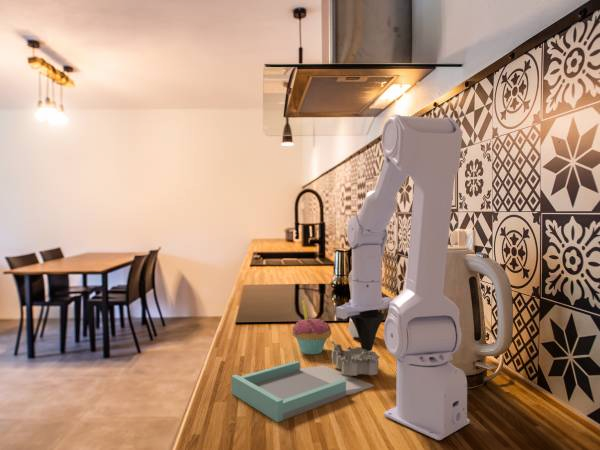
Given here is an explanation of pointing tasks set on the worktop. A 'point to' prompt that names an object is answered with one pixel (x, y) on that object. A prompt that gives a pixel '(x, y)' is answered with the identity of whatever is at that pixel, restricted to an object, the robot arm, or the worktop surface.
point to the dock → (293, 389)
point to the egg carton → (355, 360)
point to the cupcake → (311, 333)
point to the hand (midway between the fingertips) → (366, 349)
